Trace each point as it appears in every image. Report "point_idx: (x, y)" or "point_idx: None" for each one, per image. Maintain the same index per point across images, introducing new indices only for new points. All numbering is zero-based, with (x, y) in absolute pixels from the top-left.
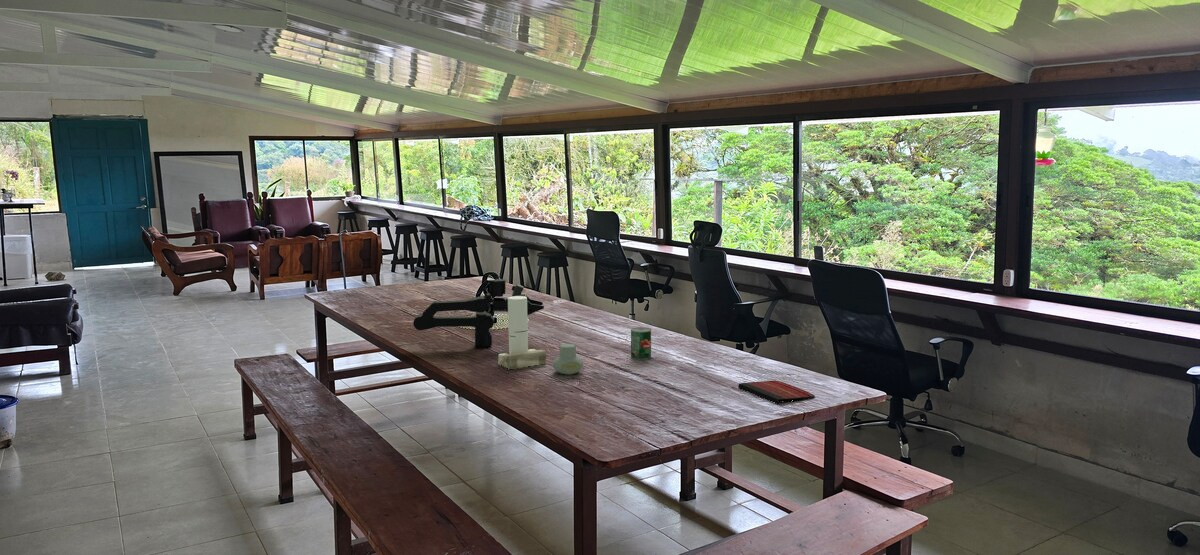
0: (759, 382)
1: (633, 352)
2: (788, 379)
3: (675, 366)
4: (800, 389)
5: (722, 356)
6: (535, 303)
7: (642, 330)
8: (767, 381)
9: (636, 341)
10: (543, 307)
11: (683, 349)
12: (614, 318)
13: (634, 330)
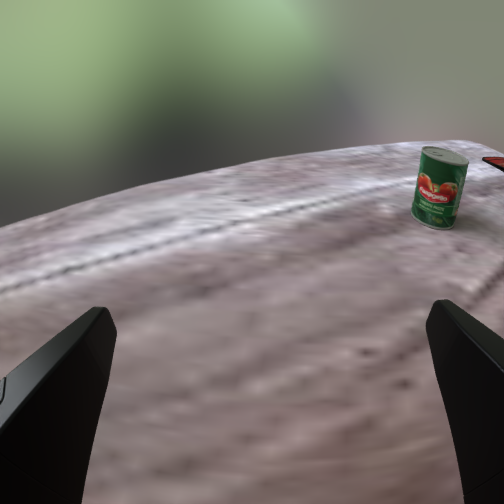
0: (500, 165)
1: (455, 214)
2: (466, 152)
3: (470, 195)
4: (499, 157)
5: (387, 157)
6: (70, 411)
7: (447, 155)
8: (490, 161)
9: (463, 185)
10: (443, 317)
11: (348, 172)
12: (8, 229)
13: (455, 162)
